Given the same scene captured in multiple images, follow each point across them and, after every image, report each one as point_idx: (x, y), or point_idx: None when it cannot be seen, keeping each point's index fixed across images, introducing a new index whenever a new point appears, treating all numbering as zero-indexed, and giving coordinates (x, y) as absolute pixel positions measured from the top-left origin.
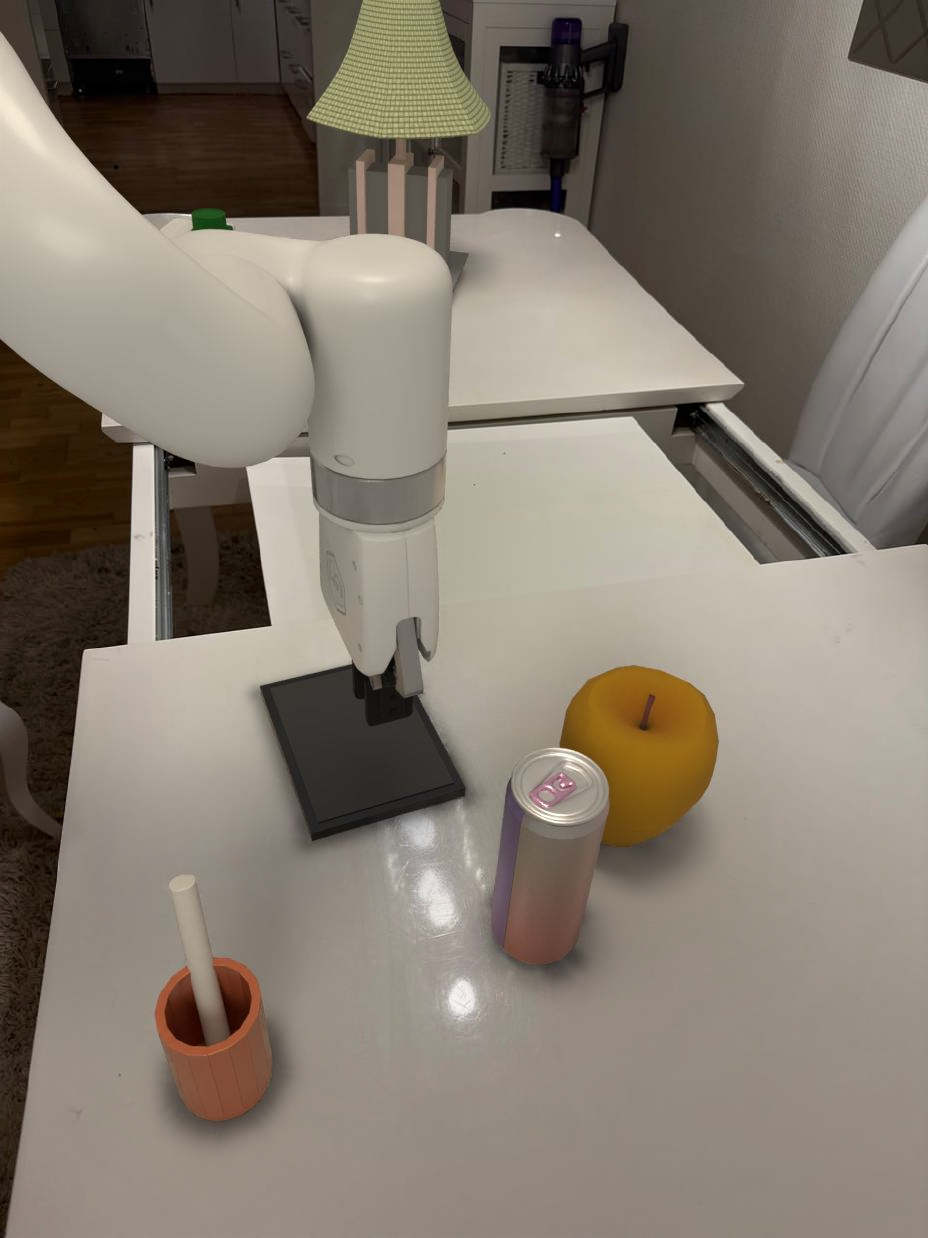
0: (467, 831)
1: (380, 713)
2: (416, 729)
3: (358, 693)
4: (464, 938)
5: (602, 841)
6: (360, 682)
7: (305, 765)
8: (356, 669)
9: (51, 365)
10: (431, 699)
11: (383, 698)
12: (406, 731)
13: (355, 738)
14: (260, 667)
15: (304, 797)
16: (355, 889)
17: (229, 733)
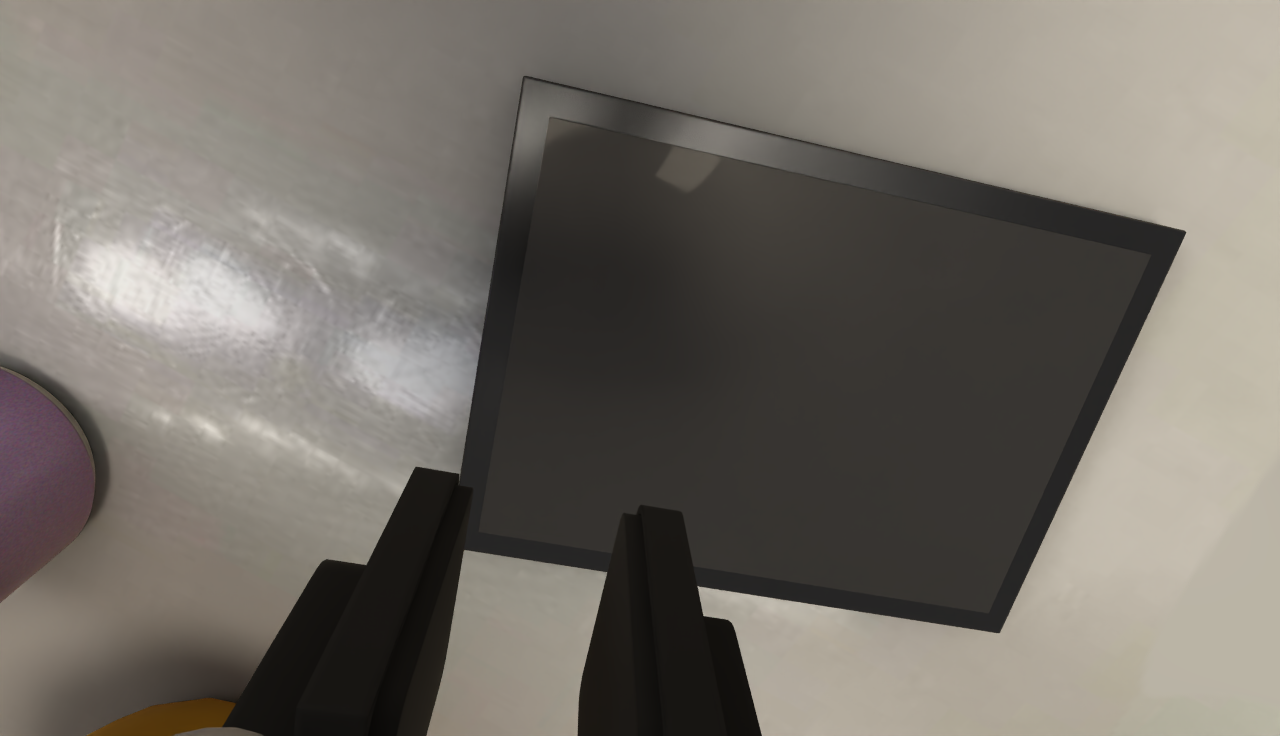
0: (347, 473)
1: (350, 575)
2: (709, 543)
3: (624, 536)
4: (24, 290)
5: (96, 730)
6: (622, 602)
7: (782, 196)
8: (640, 670)
9: None
10: (802, 619)
11: (245, 698)
12: (718, 518)
13: (785, 384)
14: (1256, 278)
15: (668, 129)
16: (301, 107)
17: (1086, 51)
